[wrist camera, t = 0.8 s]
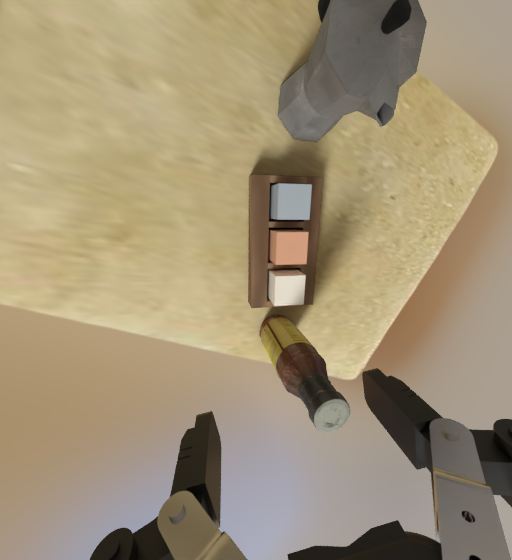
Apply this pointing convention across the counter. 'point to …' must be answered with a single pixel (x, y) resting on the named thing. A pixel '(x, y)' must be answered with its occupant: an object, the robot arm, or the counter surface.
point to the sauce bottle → (304, 373)
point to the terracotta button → (288, 247)
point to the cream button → (286, 287)
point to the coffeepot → (353, 65)
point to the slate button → (290, 201)
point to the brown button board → (261, 224)
